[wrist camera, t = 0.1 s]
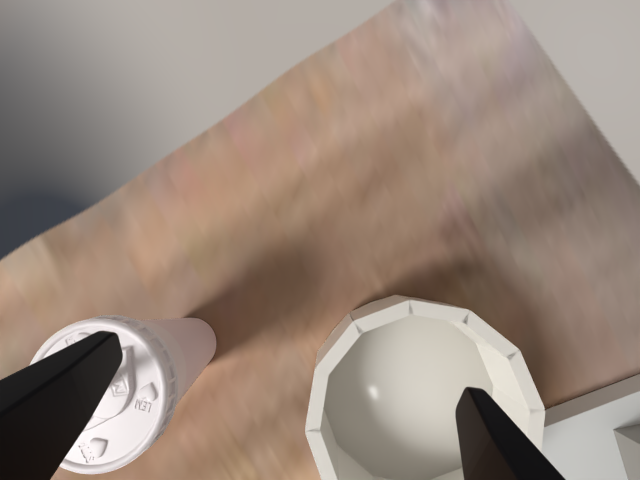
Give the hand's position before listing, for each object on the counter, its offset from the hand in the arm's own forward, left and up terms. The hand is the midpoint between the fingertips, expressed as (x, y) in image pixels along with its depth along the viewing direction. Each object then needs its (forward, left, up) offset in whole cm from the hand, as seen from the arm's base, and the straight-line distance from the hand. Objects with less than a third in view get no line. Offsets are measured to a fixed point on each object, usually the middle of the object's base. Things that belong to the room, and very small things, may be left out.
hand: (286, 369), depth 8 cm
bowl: (-7, -4, -15) cm, 17 cm away
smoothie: (+1, +9, -15) cm, 18 cm away
